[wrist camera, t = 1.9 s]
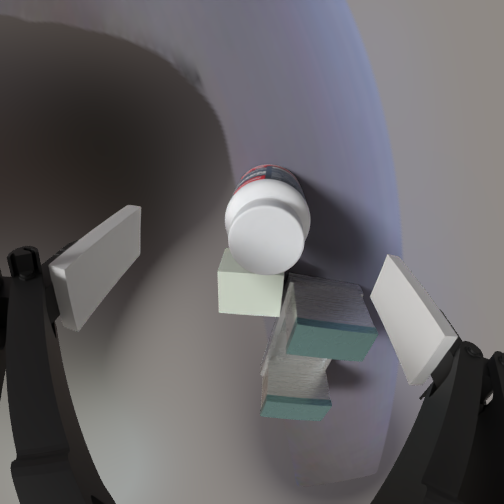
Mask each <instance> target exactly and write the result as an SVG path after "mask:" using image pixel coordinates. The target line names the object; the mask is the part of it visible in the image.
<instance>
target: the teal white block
mask: <svg viewBox="0 0 504 504" xmlns="http://www.w3.org/2000/svg"><path fill="white" fill-rule="evenodd" d="M362 297H363V292H362V290H361V288H360V285H357V284H352V283H346V282H340V281H335V280H329V279H323V278H318V277H312V276H307V275H301V274H296V273H290V272H289V274H288V278H287V281H286V285H285V288H284V292H283V295H282V300H281V308H280V317H276V319H275V322H274V325H273V328H272V332H271V335H270V338H269V341H268V344H267V348H266V351H265V354H264V357H263V360H262V363H261V371H260V372H261V373H260V375H261V376H263V383H262V403H261V410H260V416H263V417H273V418H283V419H295V420H312V421H321V420H322V419H323V417H324V416H325V415H326V413H327V412H328V411H329V409H330V408H331V407H332V404H331V400H330V394H329V387H328V381H327V374H326V369H327V367H328V365H329V363H330V361H331V359H336V360H348V361H363V359H364V358H365V356H366V354H367V353H368V351H369V349H370V348H371V346H372V344H373V343H374V341H375V339H376V338H377V336H378V332H377V330H376V328H375V327H374V325H373V322H372V320H371V317H370V315H369V312H368V310H367V308H366V305H365V303H364V300H363V298H362Z"/></svg>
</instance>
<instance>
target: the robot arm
mask: <svg viewBox="0 0 504 504" xmlns="http://www.w3.org/2000/svg"><path fill="white" fill-rule="evenodd" d="M140 222H141V207H139V206H132V205H127V206H126V207H124V208H123V209H121V210H120V211H118V212H117V213H115V214H114V215H113V216H111V217H110V218H108V219H107V220H106V221H104V222H103V223H101V224H100V225H99V226H97V227H96V228H95V229H93V230H92V231H91V232H89V233H88V234H87V235H85V236H84V237H83V238H82V239H80V240H76V241H74V242H71V243H69V244H67V245H66V246H65V247H63V248H62V249H61V251H60V250H59V251H58V252H57V253H56V254H55V255H53V256H52V257H51V258H49V259H48V260H47V261H46V262H45V263H43V264H42V265H41V263H40V258H39V253H38V249H37V248H35V247H32V246H23V247H20V248H17V249H15V250H13V251H12V252H11V253H9V255H8V256H7V260H8V265H9V268H10V273H11V277H3V276H2V274H1V270H0V398H1V393H2V386H3V381H4V375H5V371H6V377H7V392H8V403H9V412H10V419H11V425H12V432H13V437H14V443H15V447H16V453H17V458H16V460H14V461H13V462H12V463H11V474H12V478H13V482H14V486H15V489H16V492H17V496H18V499H19V502H20V504H116V503H115V501H114V500H113V498H112V497H111V495H110V493H109V492H108V491H107V489H106V488H105V486H104V484H103V482H102V481H101V479H100V476H99V474H98V472H97V470H96V468H95V465H94V463H93V460H92V458H91V455H90V453H89V450H88V448H87V445H86V443H85V440H84V437H83V434H82V432H81V428H80V426H79V423H78V419H77V417H76V413H75V410H74V406H73V403H72V399H71V396H70V392H69V388H68V384H67V380H66V375H65V371H64V367H63V362H62V357H61V351H60V346H59V340H58V334H57V327H56V324H55V320H56V319H57V317H58V316H59V315H60V317H61V321H62V324H63V327H66V328H69V329H71V330H74V331H76V332H79V330H80V329H81V328H82V326H83V325H84V323H85V322H86V321H87V320H88V318H89V317H90V316H91V314H92V313H93V312H94V310H95V309H96V308H97V306H98V305H99V304H100V303H101V301H102V300H103V299H104V298H105V296H106V295H107V294H108V292H109V291H110V290H111V289H112V288H113V286H114V285H115V284H116V282H117V281H118V280H119V279H120V277H121V276H122V275H123V274H124V273H125V272H126V270H127V269H128V268H129V267H130V265H131V264H132V263H133V262H134V261H135V260H136V259H137V258H138V256H139V255H140ZM370 298H371V300H372V302H373V304H374V306H375V308H376V310H377V312H378V314H379V316H380V319H381V321H382V323H383V325H384V327H385V329H386V332H387V334H388V336H389V338H390V340H391V343H392V345H393V347H394V350H395V352H396V354H397V356H398V359H399V361H400V364H401V366H402V368H403V371H404V373H405V376H406V378H407V380H408V383H409V385H410V386H415V385H423V384H424V383H425V382H426V380H427V379H428V378H429V377H430V375H431V377H432V378H433V383H432V384H431V385H430V386H429V387H428V388H427V390H426V391H425V392H424V393H423V394H422V396H421V397H420V400H421V399H422V398H423V397H425V399H424V401H423V404H422V406H421V409H420V411H419V414H418V416H417V419H416V421H415V423H414V426H413V428H412V430H411V432H410V434H409V437H408V439H407V441H406V443H405V445H404V447H403V449H402V451H401V453H400V455H399V457H398V458H397V460H396V462H395V464H394V466H393V468H392V470H391V471H390V473H389V475H388V477H387V478H386V480H385V482H384V483H383V485H382V486H381V488H380V490H379V491H378V493H377V494H376V496H375V498H374V499H373V501H372V502H371V504H504V353H502V352H499V351H496V352H495V353H494V354H493V355H492V357H491V358H490V359H486V358H483V354H482V352H481V350H480V349H479V348H478V347H477V346H476V345H474V344H473V343H470V342H467V341H464V342H462V340H461V338H460V337H459V335H458V334H457V332H456V331H455V329H454V328H453V327H452V325H450V322H449V321H448V320H447V318H446V316H445V315H444V313H443V312H442V311H441V310H440V309H439V308H438V307H437V305H436V304H435V303H434V301H433V300H432V299H431V297H430V296H429V294H428V293H427V292H426V291H425V289H424V288H423V286H422V285H421V284H420V283H419V281H418V280H417V279H416V277H415V276H414V275H413V274H412V272H411V271H410V270H409V269H408V267H407V266H406V265H405V264H404V262H403V261H402V260H401V259H400V257H398V256H394V255H389V254H387V257H386V259H385V262H384V264H383V267H382V269H381V272H380V274H379V277H378V279H377V281H376V284H375V286H374V288H373V291H372V293H371V295H370ZM492 393H493V399H492V400H491V401H490V402H489V404H487V405H486V400H487V399H488V398H489V397H490V396H491V394H492Z"/></svg>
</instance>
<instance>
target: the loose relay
mask: <svg viewBox="0 0 504 504" xmlns="http://www.w3.org/2000/svg"><path fill="white" fill-rule="evenodd" d="M283 282H284V272H282V273H279V274H275V275H259V274H255V273H252V272H250V271H248V270H246V269H244V268H243V267H242V266H240V265H239V264H238V263H237V262H236V261H235V259H234V258H233V256H232V254H231V252H230V249H229V248H225V251H224V254H223V257H222V260H221V263H220V266H219V269H218V297H219V298H218V299H219V313H230V314H243V315H257V316H273V317H280V308H281V300H282V291H283Z"/></svg>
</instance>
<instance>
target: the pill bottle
mask: <svg viewBox="0 0 504 504" xmlns="http://www.w3.org/2000/svg"><path fill="white" fill-rule="evenodd" d="M310 223H311V218H310V211H309V208H308V204H307V202H306V199H305V196H304V193H303V191H302V188H301V186H300V184H299V182H298V180H297V179H296V177H295V176H294V175H293V174H292V173H291V172H290V171H288V170H287V169H285V168H283V167H280V166H277V165H271V164H267V165H260V166H257V167H255V168H253V169H251V170H249V171H248V172H247V173H246V174H245V175H244V176H243V177H242V178H241V180H240V181H239V183H238V185H237V187H236V189H235V191H234V193H233V195H232V197H231V199H230V202H229V204H228V206H227V209H226V214H225V228H226V232H227V235H228V243H229V249H230V252H231V254H232V256H233V258H234V259H235V261H236V262H237V263H238V264H239V265H240V266H242V267H243V268H244V269H246V270H248V271H250V272H252V273H255V274H259V275H275V274H279V273H282V272H284V271H286V270H288V269H290V268H291V267H292V266H293V265H294V264H295V263H296V262H297V261H298V260H299V258H300V257H301V255H302V252H303V249H304V243H305V240H306V238H307V236H308V233H309V230H310Z"/></svg>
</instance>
